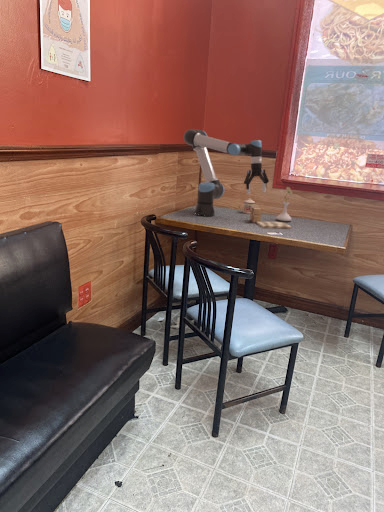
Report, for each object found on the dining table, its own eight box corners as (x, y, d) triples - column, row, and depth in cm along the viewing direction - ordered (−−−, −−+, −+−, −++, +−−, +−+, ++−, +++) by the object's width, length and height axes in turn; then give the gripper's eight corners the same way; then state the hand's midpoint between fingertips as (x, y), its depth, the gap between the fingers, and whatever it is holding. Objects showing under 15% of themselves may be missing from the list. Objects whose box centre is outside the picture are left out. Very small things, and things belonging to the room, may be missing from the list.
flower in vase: (291, 223, 290) (296, 188, 283) (275, 221, 292) (280, 187, 284) (291, 219, 302) (295, 186, 295) (275, 218, 304) (280, 185, 297)
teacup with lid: (241, 213, 315) (242, 198, 312) (244, 211, 323) (246, 197, 320) (256, 215, 311) (257, 200, 308) (258, 213, 319) (260, 198, 316)
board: (262, 228, 266) (263, 225, 265) (256, 223, 279) (256, 221, 279) (291, 228, 269) (291, 226, 269) (283, 224, 283) (283, 222, 282)
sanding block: (260, 223, 281) (261, 209, 278) (253, 223, 280) (255, 209, 277) (256, 220, 290) (257, 207, 287) (249, 220, 289) (251, 206, 286)
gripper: (244, 163, 274) (245, 194, 278) (273, 162, 285) (273, 192, 289) (238, 163, 280) (239, 194, 285) (267, 162, 291) (267, 191, 296)
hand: (256, 193), depth 287 cm, fingers open, 13 cm apart
